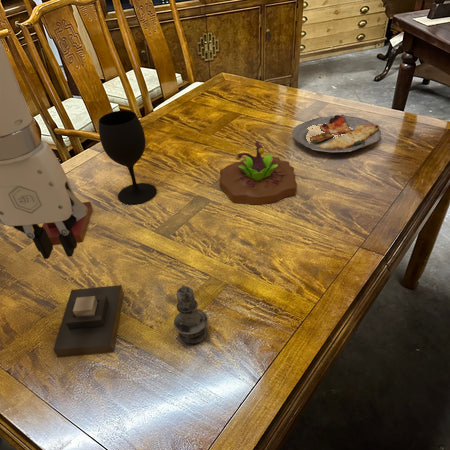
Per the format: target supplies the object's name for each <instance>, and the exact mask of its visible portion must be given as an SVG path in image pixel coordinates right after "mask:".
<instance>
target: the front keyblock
mask: <svg viewBox="0 0 450 450" xmlns="http://www.w3.org/2000/svg"><path fill="white" fill-rule="evenodd" d="M90 296H95V297H96V300H97V302H98V304H97V308H96V312H95V316H85V317H76V316H75V314H74V312H73V309H74V305H75V302H76V298H79V297H90ZM124 296H125V292H124V289H123V286H122V284H119V285H108V286H98V287H87V288H76V289H75V288H74V289H71V290H70V292H69V297H68V300H67V303H66V306H65V310H64V313H63V317H62V320H61V323H60V326H59V329H58V332H57V336H56V340H55V342H54V346H53V349H52V350H53V353H55V355H56V357H57V358H64V357H65V358H66V357H77V356H86V355H97V354H109V353H115V347H116V342H117V337H118V331H119V324H120V318H121V313H122V307H123V302H124Z"/></svg>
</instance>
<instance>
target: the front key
mask: <svg viewBox="0 0 450 450" xmlns="http://www.w3.org/2000/svg"><path fill="white" fill-rule="evenodd" d="M97 304H98V302H97V300H96V297H95V296H90V297H79V298H76V302H75V305H74V309H73V312H74V314H75V316H76V317H85V316H95V312H96V308H97Z"/></svg>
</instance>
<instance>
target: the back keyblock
mask: <svg viewBox="0 0 450 450" xmlns="http://www.w3.org/2000/svg"><path fill="white" fill-rule="evenodd" d="M81 202H82V203H83V204H84V205H85V206H86V207H87V208H88V211H87V214H86V216H84V217H83V218H81V219H80V220H78V221H76V222H75V224H74V226H73V227H72V228H71V229H72V232H73V234H74V236H75V239H76V241H77V244H78V243H79V244H80V243H83V242H84V239H85V236H86V233H87V229H88V226H89V223H90V219H91V217H92V214H91V213H93V210H94V208H93V205H92V203H91V201H81ZM92 209H93V210H92ZM72 211H74V210H73V209H72ZM90 216H91V217H90ZM41 227H43V228H44V229H45V230H46V232H47V234H48V237H49V239H50V241H51V243H52V245H53V246H56V245H57V246H58V245H62V244H61V242H60V240H59V235H60V232H59V230H58V228H57V226H56V225H55V223H54V222H52V223H42V226H41Z"/></svg>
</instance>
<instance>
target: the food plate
mask: <svg viewBox="0 0 450 450" xmlns="http://www.w3.org/2000/svg"><path fill="white" fill-rule="evenodd" d="M325 123H326V124H325ZM318 124H323V125H321V126H320V129H321V131H323V132H325V133H321V134H320V135H319V134H318V135H316V136H312V137H310V141H311V142H310V144H309V143H308V141H307V139H306V135H307V133H308V131H309V130H308V129H307V128H308V127H310V126H312V125H316V126H317V125H318ZM349 127H351V128H353V130H351V129H350V128H349ZM312 129H313V128H312ZM381 132H382V131H381V129H380V125H379V124H374V123H373V122H372V121H369V120H367V119H365V118H361V117H356V116H350V115H344V114H343V113H342V114H341V115H340V114H335V115H328V116H320V117H317V118H316V117H315V118H313V119H310V120H307V121H304V122H302V123H299V124H297V125H296V126H294V127H293V129H292V136H293V137H292V138H293V139H294V140H295V141H296V142H298V143H299V144H301V145H302V146H303V147H306V148H309V149H311V150H313V151H316V152H317V151H318V152H324V153H326V152H327V153H347V152H350V153H351V152H353V151H356V150H358V149H362V148H365V147H367V146H370V145H372V144H374V143H378V141H380V140H381V139H382V135H381ZM332 134H334V135H338V138H336V139H335V137H334V135H332ZM341 134H345V135H343V136H341ZM339 135H340V136H339ZM333 137H334V138H333ZM336 137H337V136H336Z"/></svg>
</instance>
